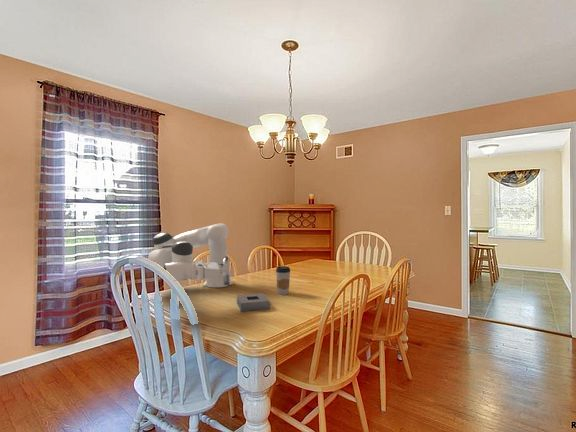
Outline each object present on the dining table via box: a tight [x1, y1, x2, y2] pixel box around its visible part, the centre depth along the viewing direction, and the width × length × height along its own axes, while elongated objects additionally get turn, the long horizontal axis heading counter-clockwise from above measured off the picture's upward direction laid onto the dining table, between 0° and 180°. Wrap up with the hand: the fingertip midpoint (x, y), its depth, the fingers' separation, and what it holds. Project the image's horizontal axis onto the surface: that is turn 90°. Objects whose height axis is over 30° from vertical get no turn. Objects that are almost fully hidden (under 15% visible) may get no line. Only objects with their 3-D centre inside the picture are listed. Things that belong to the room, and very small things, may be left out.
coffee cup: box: [275, 265, 291, 296], centre depth 178 cm, size 8×8×15 cm
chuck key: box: [223, 255, 231, 287], centre depth 153 cm, size 5×3×14 cm, turn 17°
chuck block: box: [236, 293, 271, 313], centre depth 155 cm, size 14×14×4 cm
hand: (228, 268), depth 153 cm, fingers closed on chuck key, 3 cm apart
